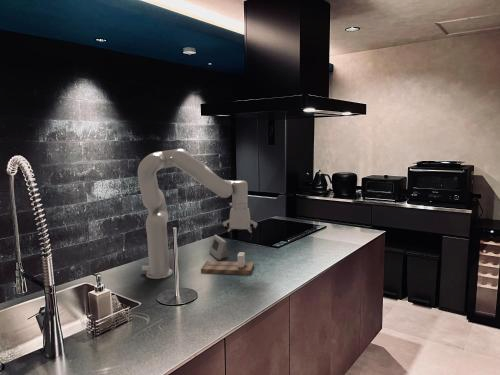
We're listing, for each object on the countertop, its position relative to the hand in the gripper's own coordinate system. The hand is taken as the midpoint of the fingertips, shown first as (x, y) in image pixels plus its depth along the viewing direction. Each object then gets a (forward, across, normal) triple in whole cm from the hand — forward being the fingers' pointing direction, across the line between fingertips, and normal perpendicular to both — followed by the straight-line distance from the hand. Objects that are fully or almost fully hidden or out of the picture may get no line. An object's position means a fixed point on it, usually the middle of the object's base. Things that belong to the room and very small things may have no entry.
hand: (240, 239), depth 191 cm
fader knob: (+14, +1, 0) cm, 14 cm away
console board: (+16, -6, 0) cm, 17 cm away
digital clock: (+16, -16, +20) cm, 31 cm away
